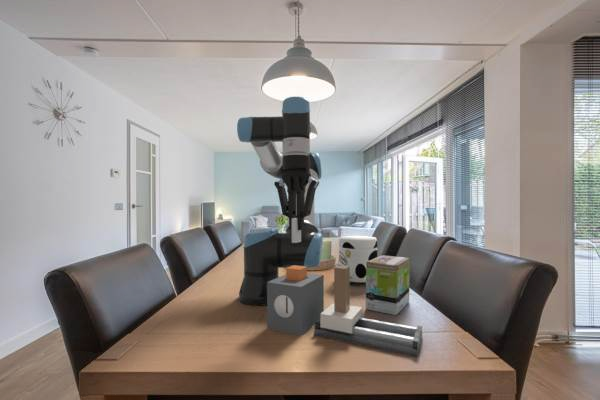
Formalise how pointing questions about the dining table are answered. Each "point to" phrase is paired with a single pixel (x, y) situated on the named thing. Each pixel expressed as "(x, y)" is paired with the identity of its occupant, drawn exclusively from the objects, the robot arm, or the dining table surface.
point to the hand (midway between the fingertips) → (296, 242)
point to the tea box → (387, 284)
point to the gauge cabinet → (295, 303)
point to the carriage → (341, 304)
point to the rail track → (378, 335)
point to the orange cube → (296, 273)
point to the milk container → (357, 255)
